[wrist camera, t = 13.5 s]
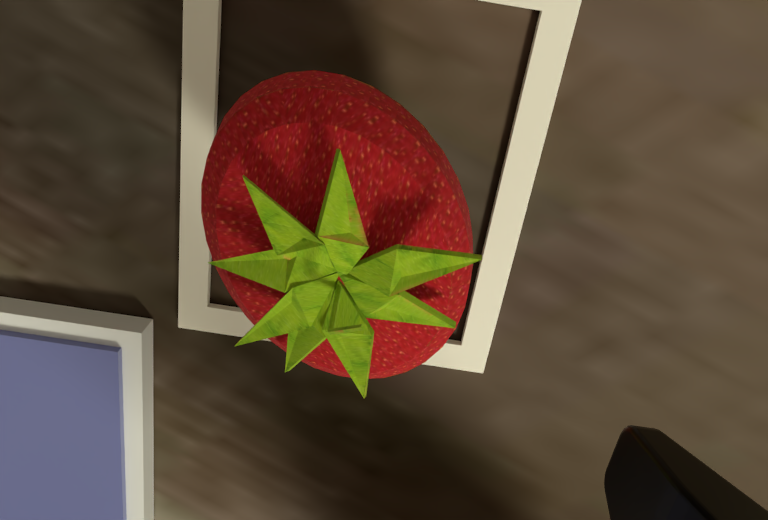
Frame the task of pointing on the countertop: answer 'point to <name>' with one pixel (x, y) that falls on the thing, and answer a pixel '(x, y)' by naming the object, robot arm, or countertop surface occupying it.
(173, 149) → the countertop surface
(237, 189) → the strawberry
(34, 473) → the ink pad
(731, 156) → the countertop surface
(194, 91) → the print frame
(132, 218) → the countertop surface
